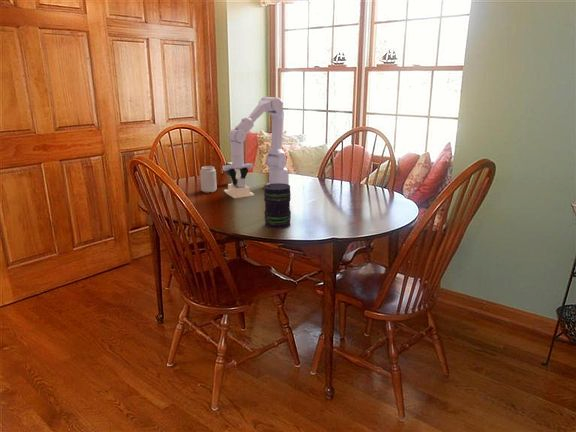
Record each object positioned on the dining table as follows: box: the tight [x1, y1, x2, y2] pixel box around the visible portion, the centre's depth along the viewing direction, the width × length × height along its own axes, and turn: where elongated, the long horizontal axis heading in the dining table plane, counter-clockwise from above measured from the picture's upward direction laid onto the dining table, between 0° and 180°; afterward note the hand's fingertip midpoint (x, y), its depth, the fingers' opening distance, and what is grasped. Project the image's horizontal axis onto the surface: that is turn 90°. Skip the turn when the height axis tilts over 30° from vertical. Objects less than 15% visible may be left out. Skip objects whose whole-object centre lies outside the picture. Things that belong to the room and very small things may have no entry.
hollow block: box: [223, 183, 255, 199], centre depth 225 cm, size 10×14×4 cm
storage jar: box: [263, 183, 292, 230], centre depth 177 cm, size 10×10×15 cm
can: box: [199, 165, 218, 194], centre depth 229 cm, size 8×8×12 cm
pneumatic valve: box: [223, 161, 247, 183], centre depth 245 cm, size 6×12×12 cm, turn 126°
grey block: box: [231, 175, 246, 188], centre depth 224 cm, size 4×8×6 cm, turn 26°
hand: (238, 184), depth 224 cm, fingers closed on grey block, 3 cm apart
